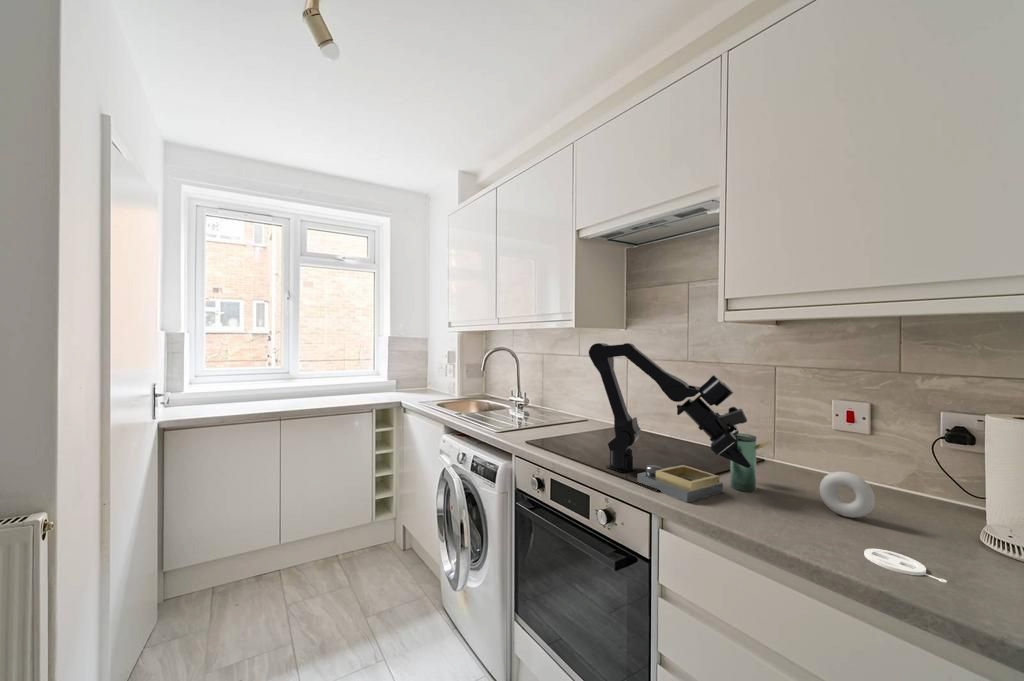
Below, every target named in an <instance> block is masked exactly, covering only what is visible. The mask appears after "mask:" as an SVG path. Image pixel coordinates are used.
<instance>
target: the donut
mask: <svg viewBox="0 0 1024 681" xmlns="http://www.w3.org/2000/svg"><path fill="white" fill-rule="evenodd" d="M840 488H848V489H849V490H851V491H852V492H853V493H854V496H855V497H854V499H853V500H852V501H846V500H844V499H842V498H841V497H840V495H839V493H838V490H839V489H840ZM818 489H819V494H820V498H821V499H822V501H823V503H824V505H826V506H827V508H828V509H830V510H831V511H833V513H836V514H838V515H840V516H842V517H845V518H853V519H855V518H863V517H864V516H867V515H868V514H870V513H871V512H872V510H873V509H874V507H875V504H876V503H875V502H876V497H875V493H874V491H873V489H872V488H871V486H870V484H868V483H867V482H866V480H864V479H863V478H862V477H860V476H859V475H857V474H855V473H852V472H848V471H840V470H839V471H838V470H837V471H834V472H833V471H832V472H829V473H828V474H826V475H825V476H824V477H823V478H822V480H821V481H820V484H819V488H818Z"/></svg>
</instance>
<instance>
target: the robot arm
mask: <svg viewBox="0 0 1024 681" xmlns="http://www.w3.org/2000/svg"><path fill="white" fill-rule="evenodd" d="M588 356H589V359H590V361H591V362H592V365H593V366H594V368H595V369H596V371H598V372H599V375H600V377H601V381H602V384H603V386H604V391H605V393H606V395H607V398H608V402H609V405H610V407H611V408H610V410H611V411H612V414H613V429H614V435H615V437H614V438H613V439H612V440H610V441H609V442H608V443H607V446H608V449H609V464H606V466H605V467H606V468H607V467H608V469H610V470H612V469H613V471H615V470H616V471H615V472H617V471H619V472H618V473H620V472H622V473H627V472H631V470H632V471H635V470H636V469H637V468H636V467H634V464H633V463H634V456H633V449H631V448H632V446H633V444H635V442H637V441H638V439H639V438H640V432H641V431H642V430H641V429H642V428H640V426H639V423H638V418H637V417H633V418H632V417H631V415H630V414H629V412H628V409H627V406H626V403H625V400H624V396H623V393H622V391H621V390H622V389H621V388H620V384H619V382H618V379H617V376H616V372H615V368H614V366H615V362H614V361H615V360H614V358H616V357H617V358H618V357H625V358H626V359H628V360H629V361H630V362H631V363H633V364H634V365H635V366H636V367H637V368H638V369H640V370H641V371H642V372H644V374H646V375H647V376H648V377H649V378H651V379H652V380H653V381H654V382H655V383H656V384H657V385H658V387H659V388H660V389H661V390H662V392H663V393H664V394H665V395H666V397H667V398H668V399H669V400H670V401H672V402H676V403H679V402H680V403H681V402H683V401H685V400H686V399H687V400H686V401H685V402H683V403H682V404H677V405H676V407H677V408H676V409H677V410H676V411H677V412H676V415H677V416H680V415H681V414H682V413H686V415H687V416H688V417H689V418H690V419H691V420H692V421H693V422H694V423H695V424H696V426H698V428H697V429H699V431H703V432H704V434H706V435H707V436H708V437H709V440H710V441H711V443H710V449H711V451H712V452H713V453H714V454H715V455H716V456H717V455H718V456H720V457H723V458H725V459H727V460H730V462H731V461H733V462H736V463H738V464H740V465H742V466H744V467H746V468H749V467H750V466H751V465H750V463H749V462H748V461H747V459H746V458H745V457H744V455H743V454H742V452H741V451H740V450H739V448H738V439H736V437H735V436H734V435H733V434H734V433H740V432H739V429H738V427H737V426H736V425H740V424H745V423H747V422H748V418H747V416H746V414H745V412H744V410H743V408H737V407H736V406H731V407H729V408H728V412H726V413H724V414H720V413H719V412H718V411H714V410H712V408H711V407H712V406H716V407H718V406H720V405H721V404H722V403H723V402H724V401H726V400H727V399H728V398H730V397H731V396H732V395H733V394H734V391H733V390H732V389H731V388H730V387H729V386H728V385H727V384H726V383H725V382H723V381H722V380H721V379H720V378H718V377H717V376H716V375H714V374H712V375H711V377H710V378H708V380H707V381H706V382H705V383H704V384H702V385H701V386H700V387H699V386H695V385H689V384H688V383H687V382H686V381H685V380H683V379H681V378H680V377H678V376H676V375H673V374H672V373H669V372H667V371H665V369H663V368H662V367H661V366H660V365H658V364H657V363H655V361H653V360H652V359H650V358H649V357H648V356H647V355H646V354H645V353H643V352H642V351H641V350H639V349H638V348H637V347H636V345H634V344H633V343H630V342H628V343H627V342H625V343H623V344H612V345H611V344H610V345H609V344H607V343H605V342H601V343H600V342H598V343H594V344H592V345H591V346H590V347H589V350H588ZM699 393H700V394H699ZM698 394H699V395H698ZM697 395H698V396H697ZM695 396H697V397H695ZM694 397H695V398H694ZM691 398H694V399H693V400H692V399H691ZM710 406H711V407H710ZM626 471H627V472H626Z"/></svg>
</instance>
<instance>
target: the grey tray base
mask: <svg viewBox="0 0 1024 681" xmlns="http://www.w3.org/2000/svg"><path fill="white" fill-rule="evenodd" d="M636 479H637V481H636V482H639V483H643V484H645V485H648V486H651V487H654V488H657V489H659V490H660V491H661V492H660V493H662V494H665V495H666V496H669V497H672V498H675V499H677V500H679V501H682V502H685V503H692V502H694V501H697V500H702V499H705V498H709V497H712V496H717V495H719V494H723V493H724V483H723V482H721V481H720V476H719V475H717V474H713V473H710V472H707V471H704V470H700V469H697V468H694V467H691V466H689V465H688V466H687V465H684V464H681V465H676V466H668V467H664V468H662V467H661V466H659V465H657V464H656V465H655V464H648V465H645V471H644V472H639V473H637V478H636ZM639 483H638V484H639Z"/></svg>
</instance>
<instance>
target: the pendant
mask: <svg viewBox="0 0 1024 681" xmlns="http://www.w3.org/2000/svg"><path fill="white" fill-rule="evenodd" d="M863 553H864V557H865V558H866V559H867V560H868V561H870V562H871V563H873V564H876V565H877V566H880V567H882V568H884V569H887V570H890V571H892V572H897V573H900V574H904V575H912V576H927V577H930V578H933V579H936V580H937V581H939V582H941V583H945V584H946V583H948V581H947V580H946V579H944V578H938V577H936V576H933V575H930V574H928V573H927V568H926V566H925V565H924V564H922V562H919V561H918V560H915V559H914V558H911V557H909V556H906V555H904V554H901V553H898V552H895V551H890V550H886V549H881V548H880V549H879V548H866V549H864V552H863Z"/></svg>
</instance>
